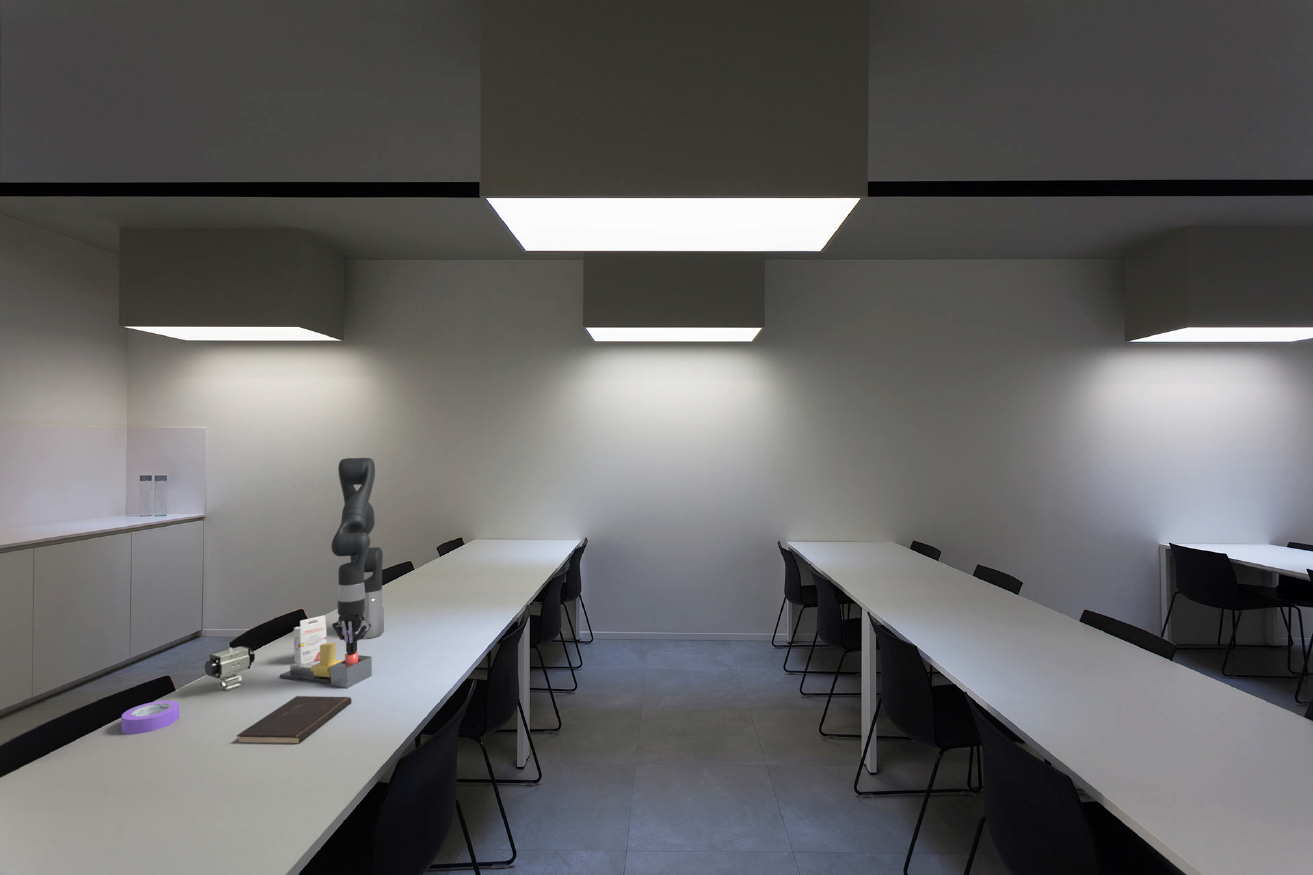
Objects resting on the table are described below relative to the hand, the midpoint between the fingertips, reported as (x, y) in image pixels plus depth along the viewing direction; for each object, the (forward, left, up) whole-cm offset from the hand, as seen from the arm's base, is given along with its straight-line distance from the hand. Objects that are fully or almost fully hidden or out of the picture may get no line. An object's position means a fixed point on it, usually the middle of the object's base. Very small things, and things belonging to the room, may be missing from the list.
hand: (351, 653), depth 187 cm
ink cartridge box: (-11, -27, -9) cm, 30 cm away
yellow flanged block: (0, -9, -7) cm, 11 cm away
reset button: (0, 0, -5) cm, 5 cm away
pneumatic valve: (+14, -31, -9) cm, 35 cm away
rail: (0, -14, -8) cm, 16 cm away
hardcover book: (+26, +7, -9) cm, 28 cm away
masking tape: (+37, -30, -9) cm, 48 cm away
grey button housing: (0, 0, -8) cm, 8 cm away
